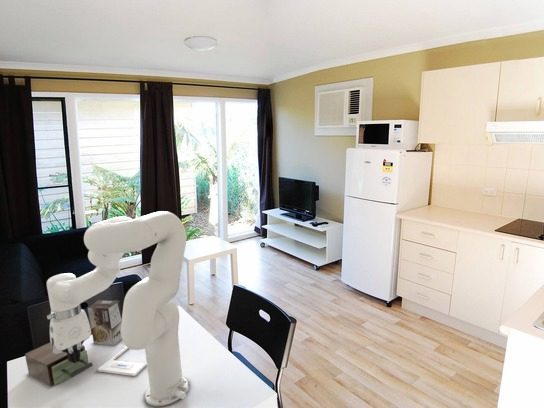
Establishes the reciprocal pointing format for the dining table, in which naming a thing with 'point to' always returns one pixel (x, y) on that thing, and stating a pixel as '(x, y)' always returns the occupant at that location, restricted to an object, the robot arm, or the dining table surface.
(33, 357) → the cabinet
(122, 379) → the dining table surface
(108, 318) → the coffee box
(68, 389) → the dining table surface
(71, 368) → the drawer
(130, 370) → the photo frame
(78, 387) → the dining table surface
